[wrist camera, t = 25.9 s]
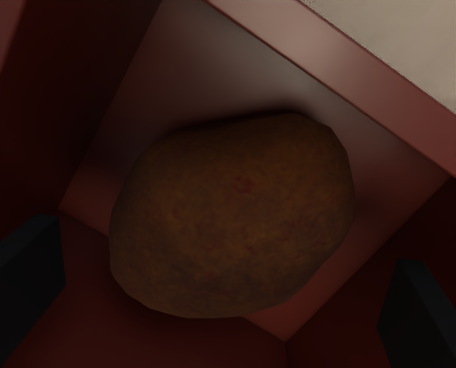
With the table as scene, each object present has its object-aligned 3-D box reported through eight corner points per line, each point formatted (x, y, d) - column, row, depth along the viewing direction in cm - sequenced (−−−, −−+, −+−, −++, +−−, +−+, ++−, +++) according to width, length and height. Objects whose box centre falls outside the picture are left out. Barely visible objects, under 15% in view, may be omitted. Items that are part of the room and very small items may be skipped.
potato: (385, 188, 17) (448, 288, 10) (216, 297, 21) (178, 424, 14) (268, 41, 16) (249, 40, 9) (109, 187, 19) (7, 267, 12)
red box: (45, 204, 21) (-130, 336, 12) (172, -60, 15) (30, -198, 6) (288, 347, 23) (302, 554, 14) (477, 159, 18) (707, 297, 8)
